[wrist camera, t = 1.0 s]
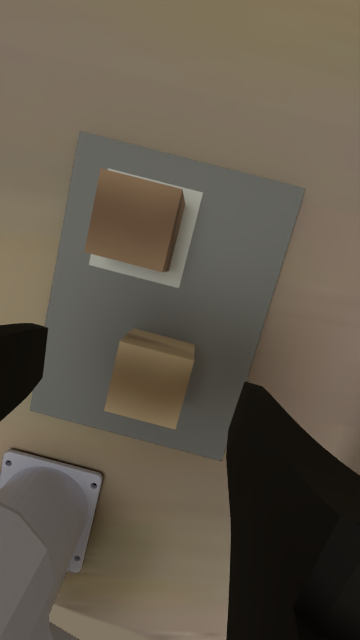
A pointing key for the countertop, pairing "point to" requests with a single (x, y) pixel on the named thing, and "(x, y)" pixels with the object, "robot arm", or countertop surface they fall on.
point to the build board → (166, 293)
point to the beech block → (150, 378)
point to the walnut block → (135, 220)
